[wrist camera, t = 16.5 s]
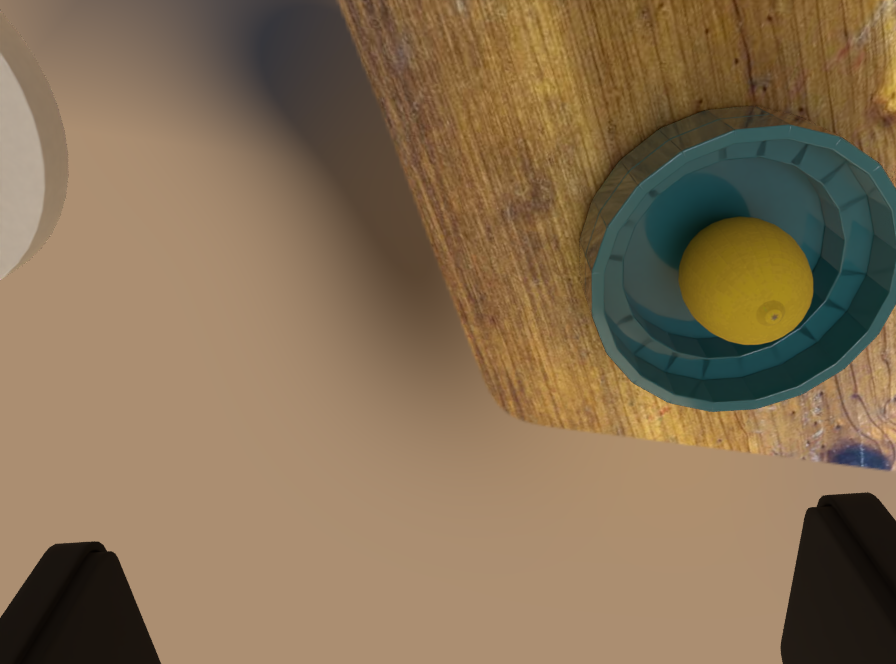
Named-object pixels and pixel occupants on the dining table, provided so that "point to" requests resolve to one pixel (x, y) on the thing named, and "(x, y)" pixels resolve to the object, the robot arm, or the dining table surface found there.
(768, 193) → the bowl
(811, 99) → the dining table surface
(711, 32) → the dining table surface
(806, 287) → the lemon
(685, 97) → the dining table surface
